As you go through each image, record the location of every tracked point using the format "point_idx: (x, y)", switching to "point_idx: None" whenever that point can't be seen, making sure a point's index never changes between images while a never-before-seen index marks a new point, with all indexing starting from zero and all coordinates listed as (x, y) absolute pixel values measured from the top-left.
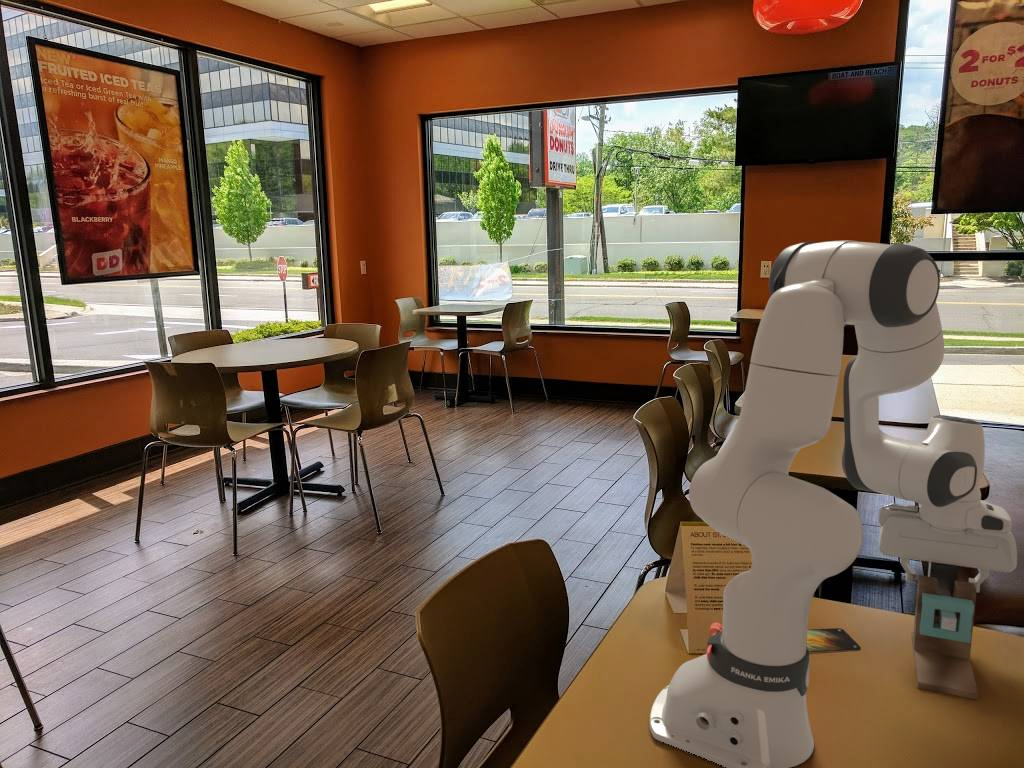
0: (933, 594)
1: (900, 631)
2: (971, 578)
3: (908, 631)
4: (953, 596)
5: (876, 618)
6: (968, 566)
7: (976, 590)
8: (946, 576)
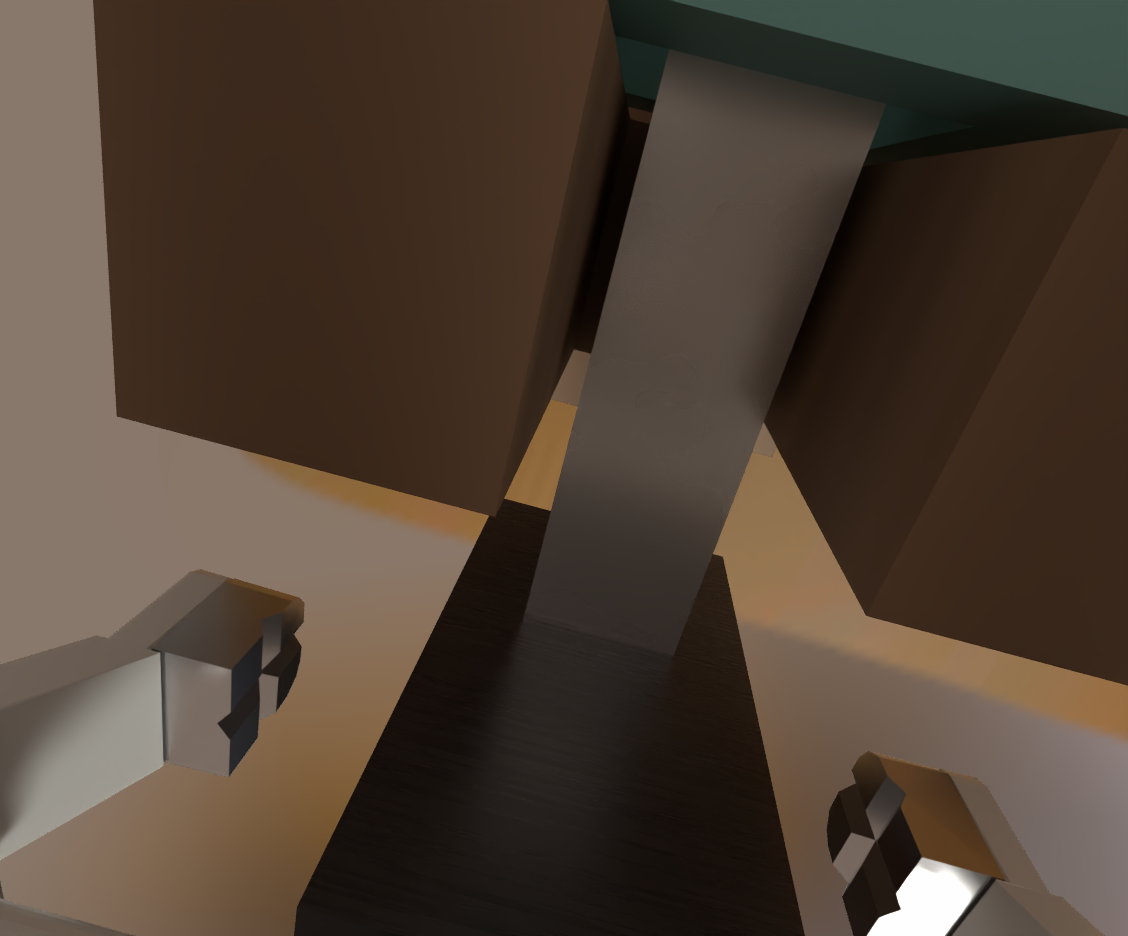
0: (1096, 105)
1: (803, 504)
2: (201, 762)
3: (752, 508)
4: (552, 387)
5: (882, 634)
6: (38, 925)
7: (219, 584)
8: (540, 764)
